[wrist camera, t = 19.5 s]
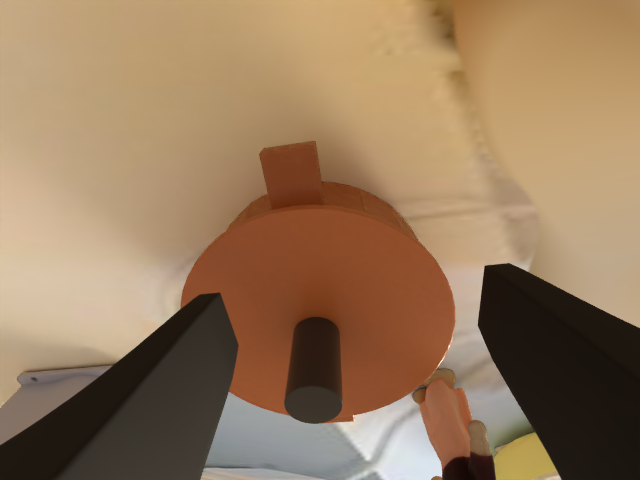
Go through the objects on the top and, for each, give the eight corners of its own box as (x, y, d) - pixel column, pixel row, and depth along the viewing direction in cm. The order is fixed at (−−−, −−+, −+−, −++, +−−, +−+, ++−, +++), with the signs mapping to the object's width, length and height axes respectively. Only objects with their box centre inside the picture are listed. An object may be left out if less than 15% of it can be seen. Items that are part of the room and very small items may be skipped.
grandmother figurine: (453, 413, 27) (540, 653, 16) (407, 413, 27) (461, 651, 16) (467, 347, 24) (593, 597, 12) (414, 348, 24) (491, 595, 13)
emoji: (469, 487, 26) (531, 555, 30) (627, 435, 23) (676, 518, 26) (454, 441, 30) (511, 505, 33) (588, 389, 26) (635, 468, 30)
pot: (255, 381, 26) (241, 438, 22) (175, 150, 17) (128, 174, 13) (420, 368, 25) (438, 427, 21) (422, 114, 16) (454, 129, 12)
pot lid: (228, 409, 21) (201, 499, 17) (147, 218, 15) (68, 282, 10) (443, 394, 20) (476, 488, 16) (455, 180, 14) (518, 233, 9)
